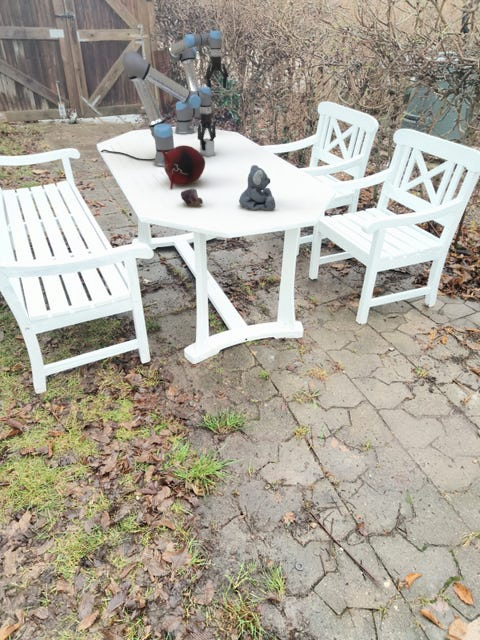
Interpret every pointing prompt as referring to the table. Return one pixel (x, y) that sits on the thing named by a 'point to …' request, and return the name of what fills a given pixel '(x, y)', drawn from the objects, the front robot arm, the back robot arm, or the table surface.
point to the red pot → (183, 165)
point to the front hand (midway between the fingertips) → (207, 149)
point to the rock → (191, 197)
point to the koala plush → (257, 191)
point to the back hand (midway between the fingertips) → (217, 89)
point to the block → (208, 147)
